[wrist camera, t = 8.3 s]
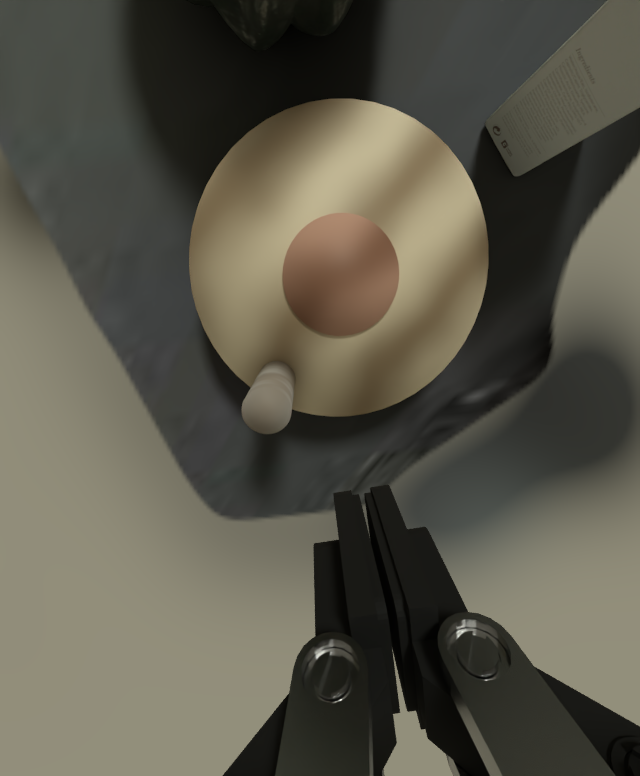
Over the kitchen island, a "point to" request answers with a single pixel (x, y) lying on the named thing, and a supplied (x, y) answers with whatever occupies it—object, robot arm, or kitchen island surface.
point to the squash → (278, 18)
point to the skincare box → (573, 90)
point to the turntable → (337, 260)
